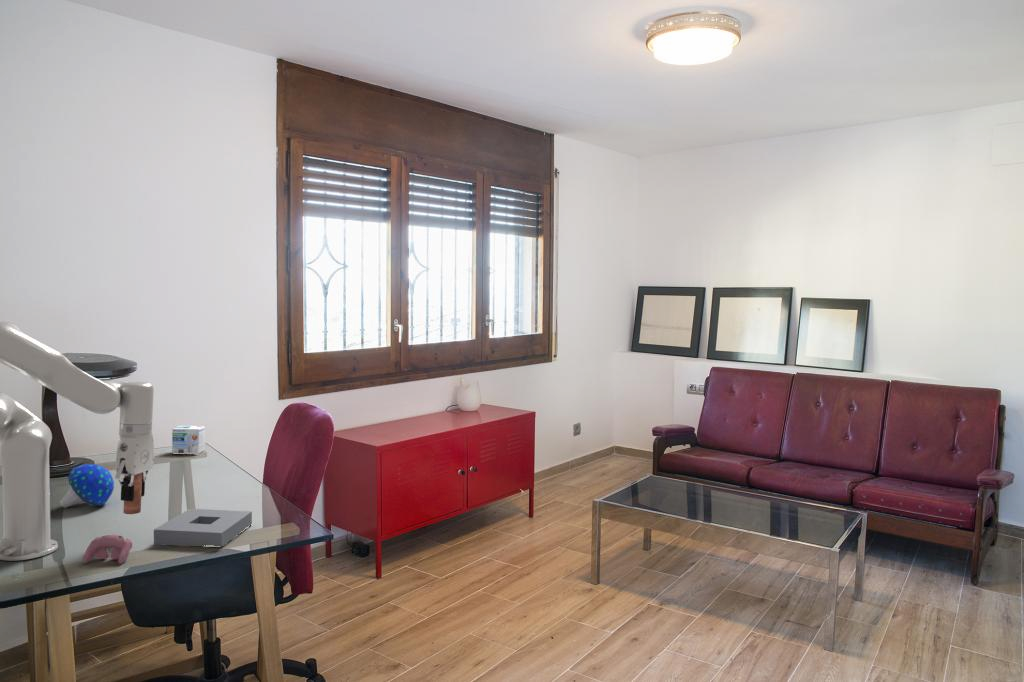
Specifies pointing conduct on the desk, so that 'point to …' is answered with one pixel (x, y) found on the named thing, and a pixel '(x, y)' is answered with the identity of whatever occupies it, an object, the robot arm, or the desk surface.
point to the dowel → (134, 505)
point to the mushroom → (88, 486)
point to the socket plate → (202, 527)
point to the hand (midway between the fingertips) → (132, 497)
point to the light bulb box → (188, 439)
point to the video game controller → (108, 541)
